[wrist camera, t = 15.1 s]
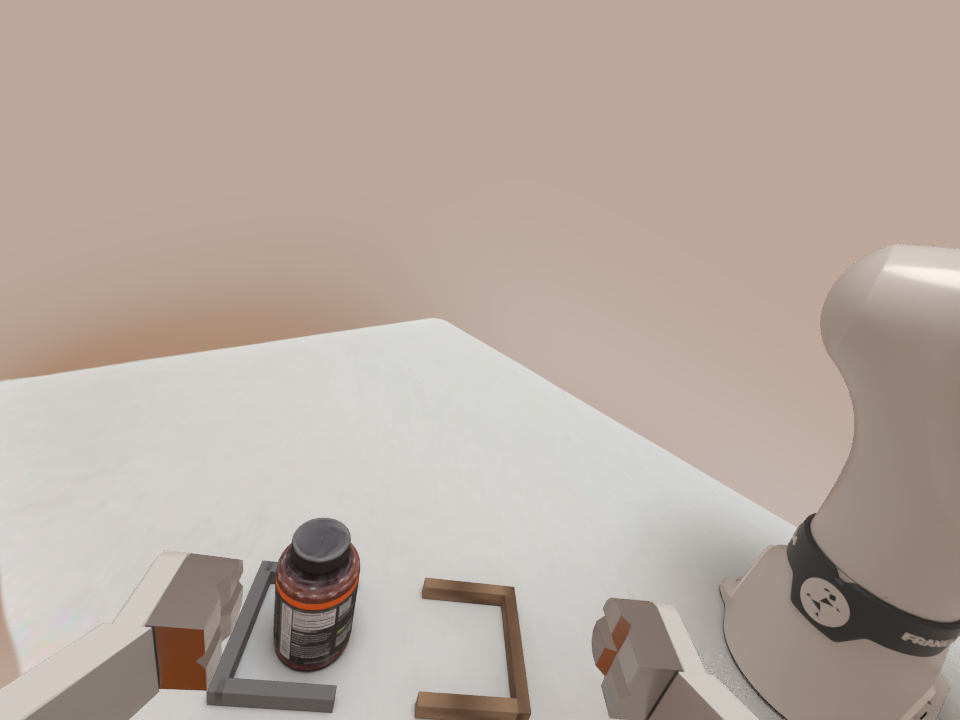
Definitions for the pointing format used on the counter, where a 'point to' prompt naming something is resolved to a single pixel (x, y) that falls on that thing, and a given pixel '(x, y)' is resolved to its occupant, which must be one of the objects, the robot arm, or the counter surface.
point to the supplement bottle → (315, 594)
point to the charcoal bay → (261, 691)
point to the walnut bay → (496, 715)
